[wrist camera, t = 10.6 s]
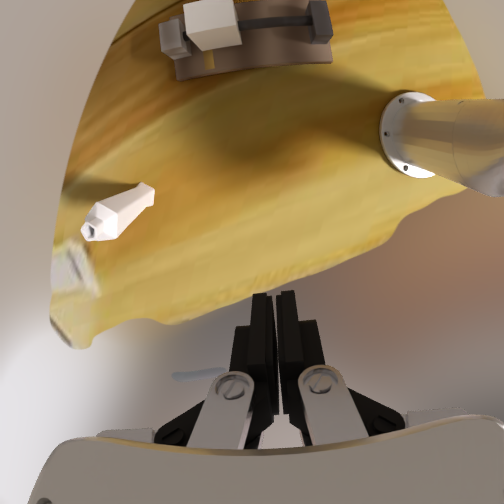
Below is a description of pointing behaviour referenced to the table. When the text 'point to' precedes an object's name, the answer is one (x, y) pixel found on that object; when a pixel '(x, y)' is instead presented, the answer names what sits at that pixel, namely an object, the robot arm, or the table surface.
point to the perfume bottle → (116, 213)
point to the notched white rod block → (212, 24)
